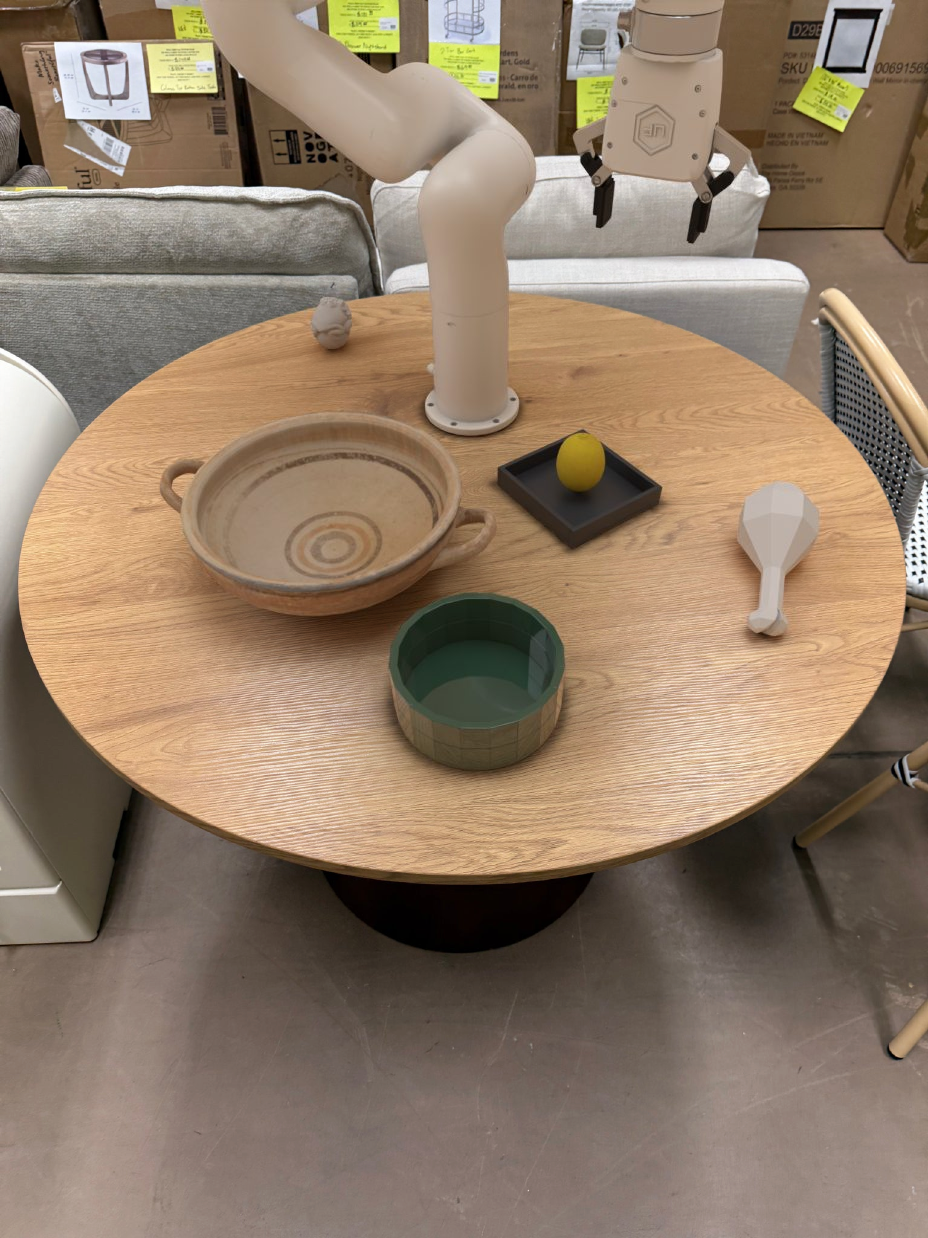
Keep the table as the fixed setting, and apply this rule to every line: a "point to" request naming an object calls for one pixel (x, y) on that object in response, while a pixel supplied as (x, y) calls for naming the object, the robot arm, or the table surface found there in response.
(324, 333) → the frog figurine
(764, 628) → the chicken leg
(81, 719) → the table surface
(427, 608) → the pot
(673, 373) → the table surface
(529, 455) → the tray
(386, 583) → the ceramic bowl
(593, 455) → the lemon
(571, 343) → the table surface
